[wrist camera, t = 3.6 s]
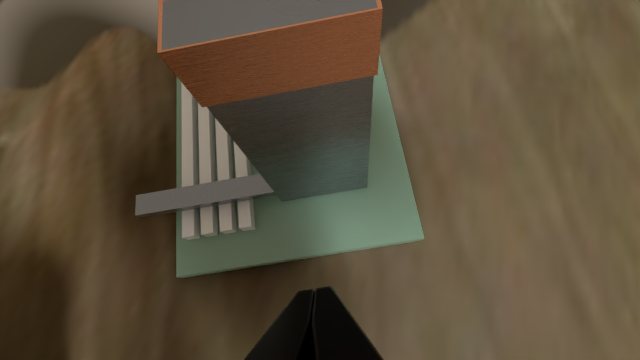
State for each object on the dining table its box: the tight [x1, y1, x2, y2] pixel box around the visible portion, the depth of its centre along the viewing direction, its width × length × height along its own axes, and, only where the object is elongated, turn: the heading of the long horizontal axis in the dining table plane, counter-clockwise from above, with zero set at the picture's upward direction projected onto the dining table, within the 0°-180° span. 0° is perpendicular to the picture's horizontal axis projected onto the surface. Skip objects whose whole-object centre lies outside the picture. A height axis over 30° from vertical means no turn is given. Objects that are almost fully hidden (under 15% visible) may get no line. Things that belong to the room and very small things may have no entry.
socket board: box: [176, 54, 424, 278], centre depth 21 cm, size 18×14×4 cm
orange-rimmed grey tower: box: [135, 0, 383, 218], centre depth 15 cm, size 8×13×13 cm, turn 98°
